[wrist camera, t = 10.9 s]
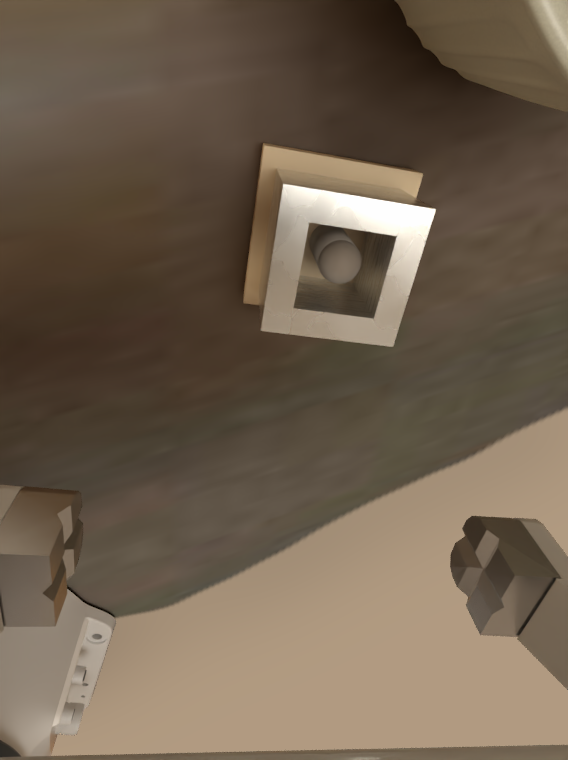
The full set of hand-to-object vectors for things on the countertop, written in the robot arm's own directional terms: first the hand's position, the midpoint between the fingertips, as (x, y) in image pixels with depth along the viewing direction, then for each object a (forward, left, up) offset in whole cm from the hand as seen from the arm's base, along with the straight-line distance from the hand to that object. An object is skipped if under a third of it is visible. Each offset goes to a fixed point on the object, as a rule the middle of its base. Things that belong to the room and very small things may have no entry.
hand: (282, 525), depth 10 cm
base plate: (+2, -3, -20) cm, 20 cm away
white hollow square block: (+2, -3, -18) cm, 18 cm away
